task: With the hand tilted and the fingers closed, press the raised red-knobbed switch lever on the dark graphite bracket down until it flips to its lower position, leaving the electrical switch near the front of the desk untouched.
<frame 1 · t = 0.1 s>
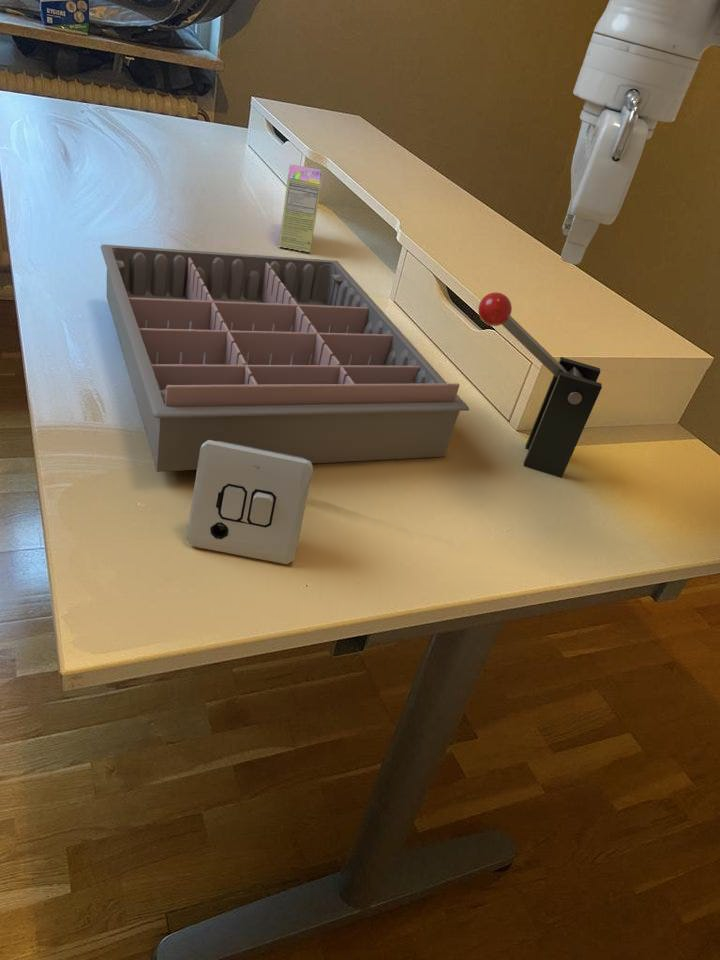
hand: (569, 247, 70), 25 cm above the table, tool pointing down, fingers open, 8 cm apart
switch bracket: (539, 469, 85), on the table
organizer tray: (259, 381, 89), on the table
electrical switch: (241, 538, 65), on the table
box: (294, 242, 133), on the table
switch lever: (534, 347, 78), point 14 cm above the table, hinge at 28.0°
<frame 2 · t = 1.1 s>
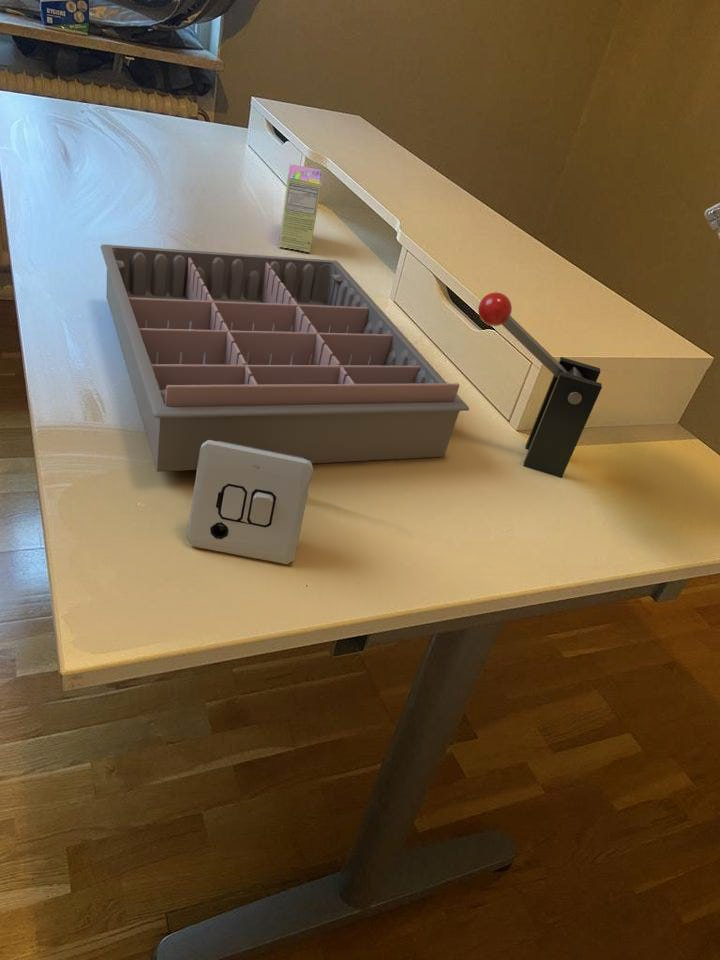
hand: (713, 230, 68), 29 cm above the table, tool tilted 45°, fingers open, 6 cm apart
nothing on the table moved.
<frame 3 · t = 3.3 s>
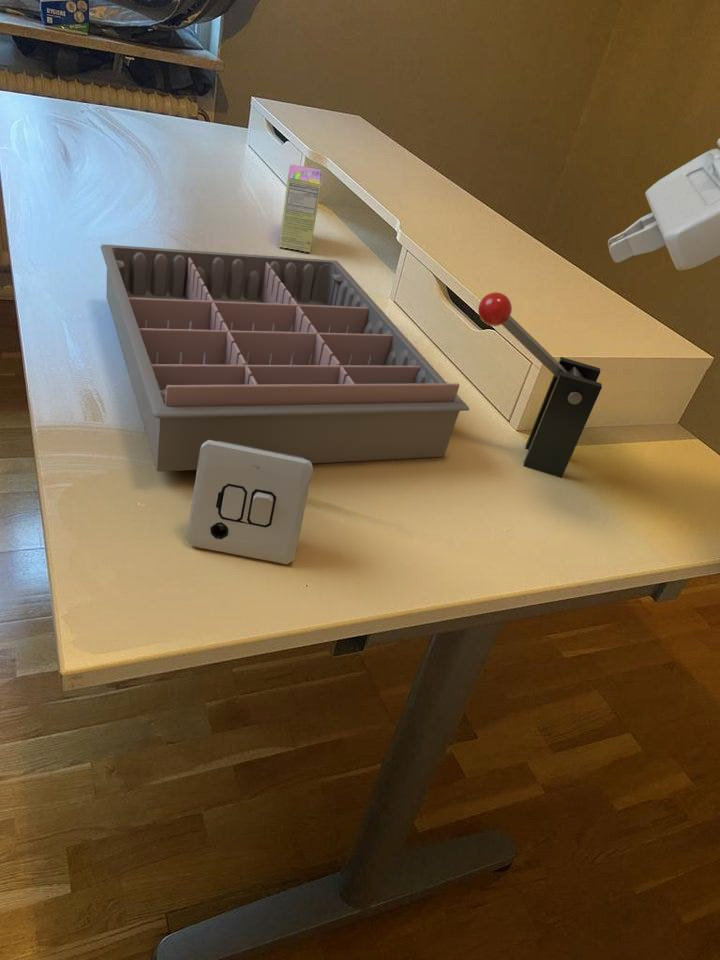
hand: (610, 252, 71), 25 cm above the table, tool tilted 45°, fingers closed
nothing on the table moved.
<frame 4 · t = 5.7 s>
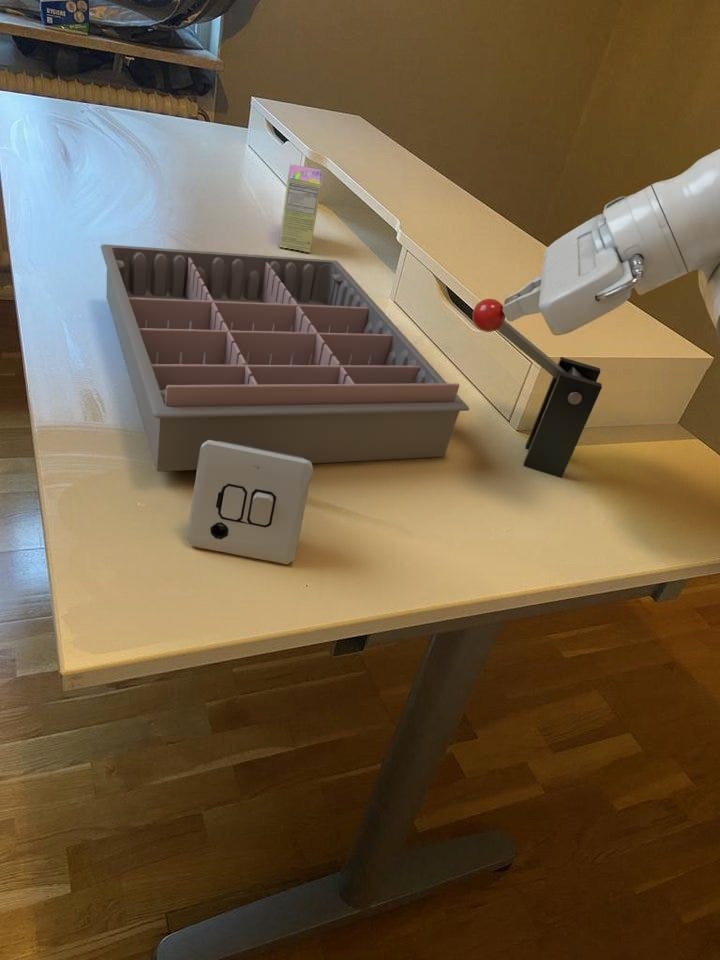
hand: (505, 310, 76), 17 cm above the table, tool tilted 45°, fingers closed
switch lever: (531, 350, 78), point 13 cm above the table, hinge at 23.7°
everything else where it was.
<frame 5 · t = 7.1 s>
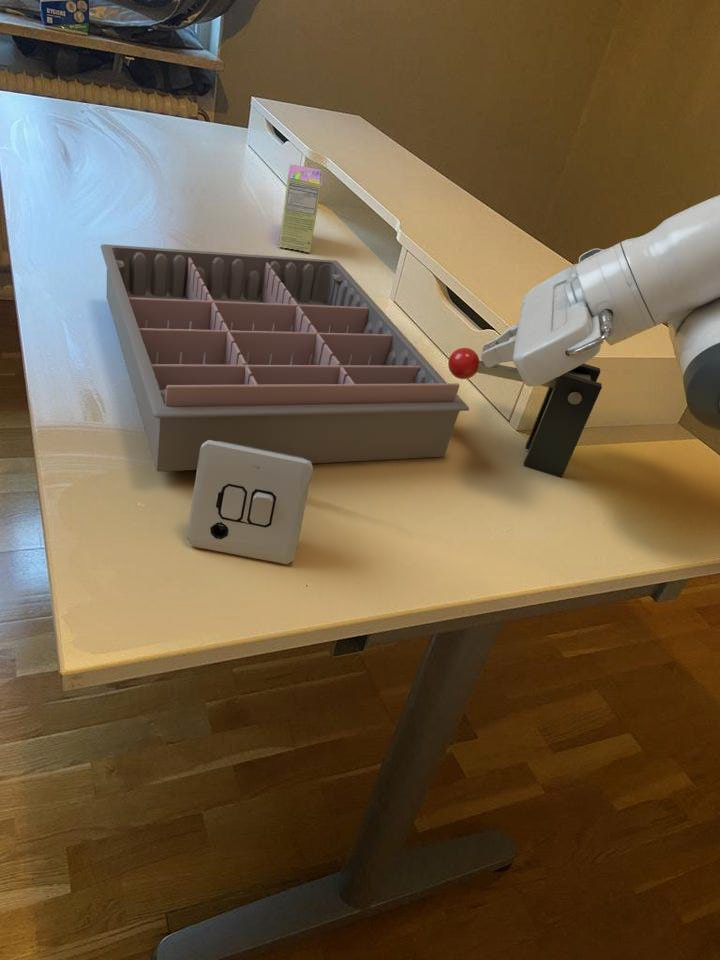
hand: (484, 357, 80), 11 cm above the table, tool tilted 45°, fingers closed, pressing on switch lever
switch lever: (517, 374, 80), point 10 cm above the table, hinge at -5.4°, touching gripper
everything else where it was.
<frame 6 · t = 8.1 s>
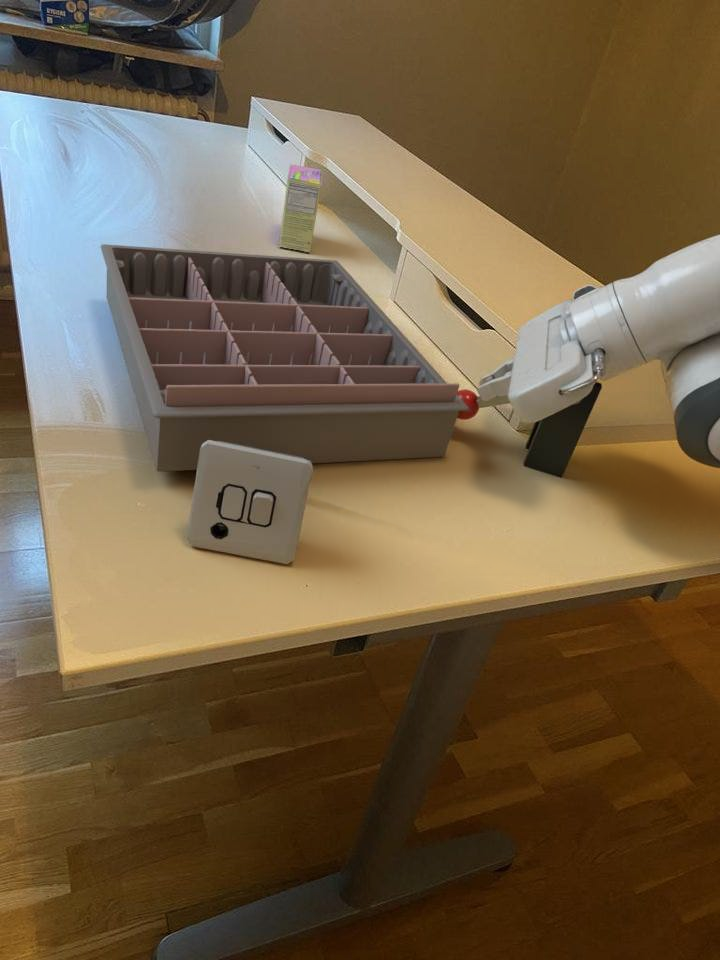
hand: (481, 390, 82), 7 cm above the table, tool tilted 45°, fingers closed, pressing on switch lever
switch lever: (516, 395, 81), point 8 cm above the table, hinge at -29.1°, touching gripper
everything else where it was.
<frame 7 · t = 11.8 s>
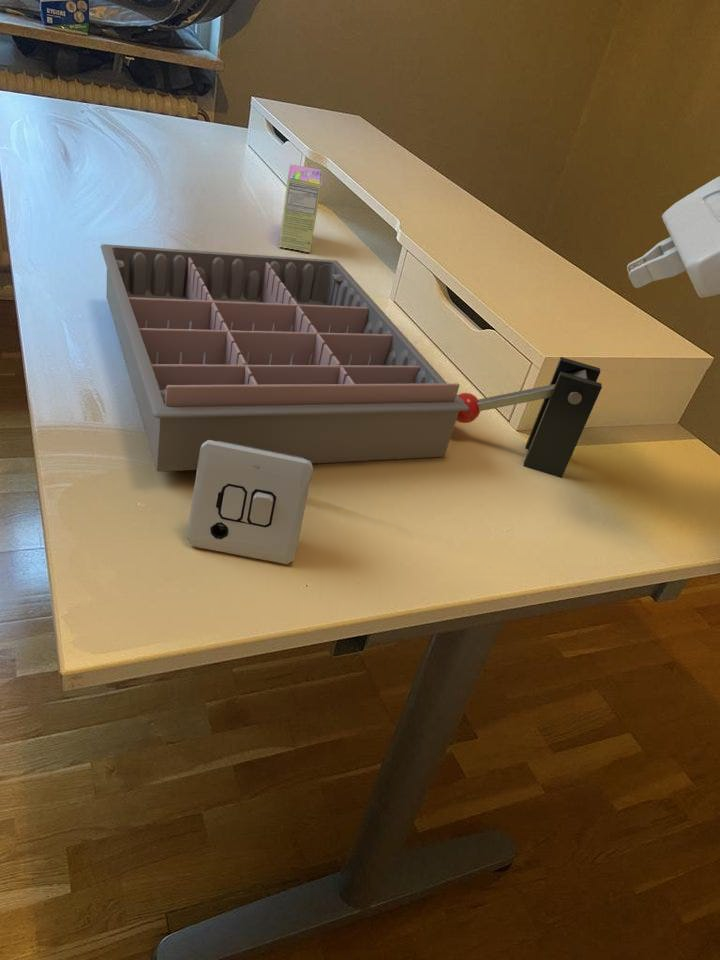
hand: (630, 277, 72), 23 cm above the table, tool tilted 45°, fingers closed
switch lever: (517, 397, 81), point 8 cm above the table, hinge at -31.1°
everything else where it was.
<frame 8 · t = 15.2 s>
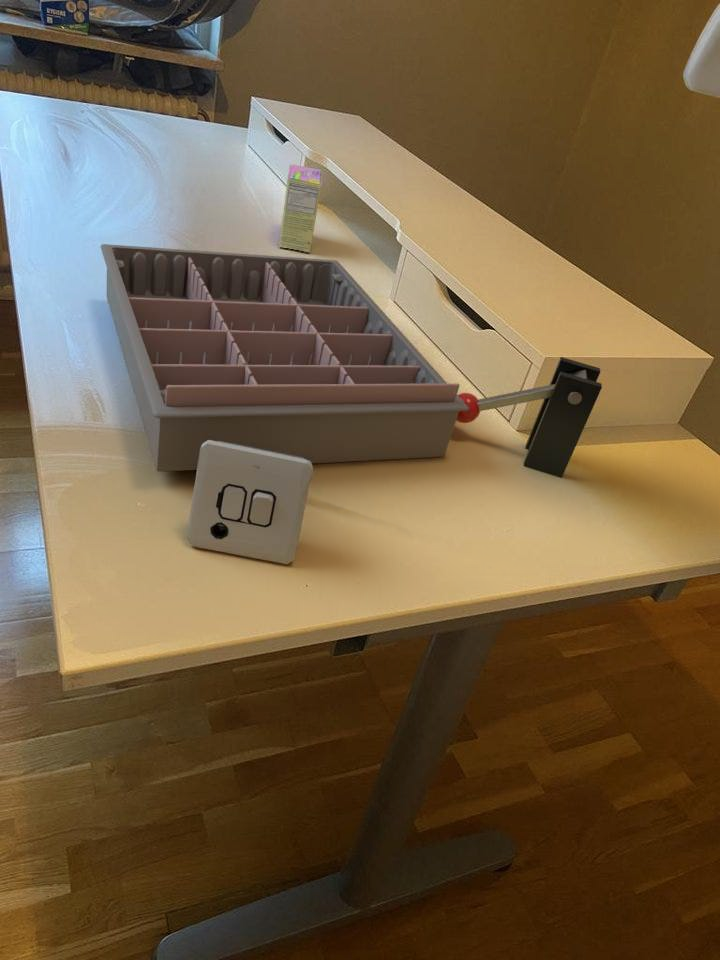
nothing on the table moved.
at the end: switch lever at -31° (first picture: +28°); switch lever reached +28° during the clip, -31° at the end; electrical switch moved 0.2 cm from its start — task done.
